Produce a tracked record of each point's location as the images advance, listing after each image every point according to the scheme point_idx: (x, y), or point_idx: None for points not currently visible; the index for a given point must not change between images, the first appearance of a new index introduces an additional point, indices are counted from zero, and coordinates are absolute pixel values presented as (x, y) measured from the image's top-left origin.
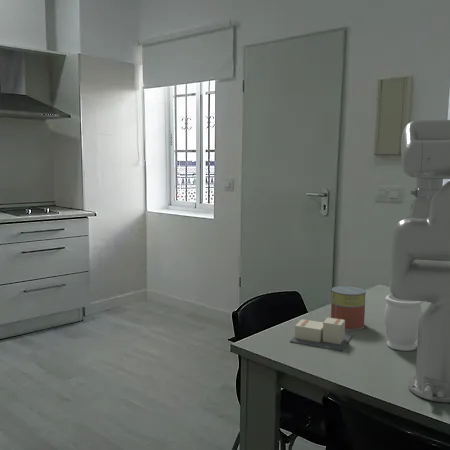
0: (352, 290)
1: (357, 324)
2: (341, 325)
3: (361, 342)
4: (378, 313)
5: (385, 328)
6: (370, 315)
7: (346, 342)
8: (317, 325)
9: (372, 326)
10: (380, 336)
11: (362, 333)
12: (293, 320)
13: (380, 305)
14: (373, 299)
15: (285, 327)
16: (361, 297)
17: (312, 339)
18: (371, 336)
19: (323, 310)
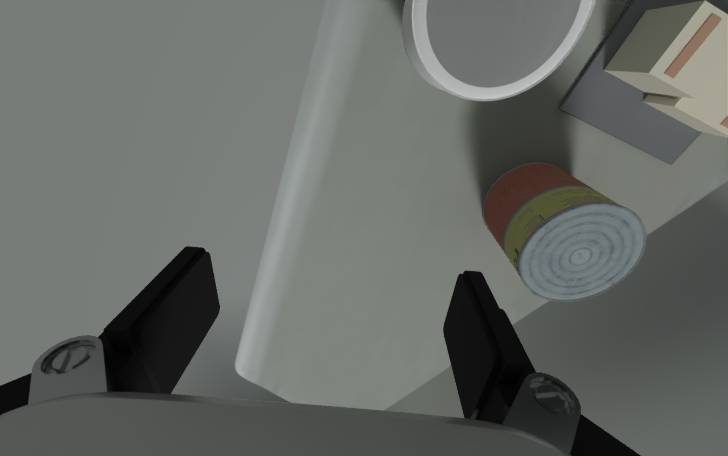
0: (568, 253)
1: (522, 171)
2: (692, 12)
3: None
4: (413, 282)
5: (517, 29)
6: (438, 268)
7: (612, 36)
8: (722, 75)
9: (465, 191)
10: (476, 113)
11: (517, 134)
12: (660, 223)
13: (388, 330)
14: (391, 363)
15: (717, 168)
16: (550, 210)
17: None
18: (502, 111)
19: None
